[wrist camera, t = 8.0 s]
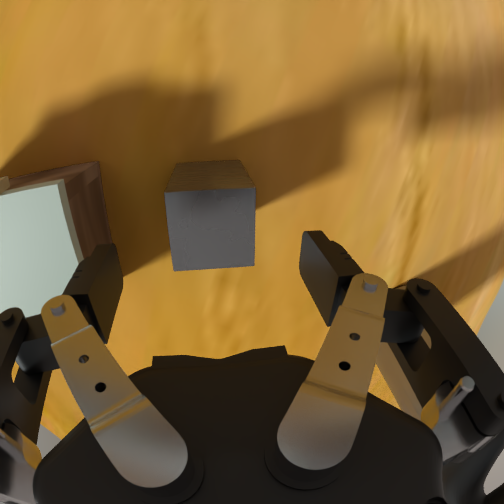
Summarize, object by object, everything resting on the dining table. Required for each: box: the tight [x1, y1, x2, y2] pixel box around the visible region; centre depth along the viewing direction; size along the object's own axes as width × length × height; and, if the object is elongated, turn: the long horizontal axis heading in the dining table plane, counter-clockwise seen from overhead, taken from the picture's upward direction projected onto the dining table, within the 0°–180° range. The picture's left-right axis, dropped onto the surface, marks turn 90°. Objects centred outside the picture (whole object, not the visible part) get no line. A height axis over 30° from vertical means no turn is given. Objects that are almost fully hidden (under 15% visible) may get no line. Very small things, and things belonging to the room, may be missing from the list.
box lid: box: [0, 176, 84, 317], centre depth 14 cm, size 13×11×2 cm
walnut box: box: [5, 161, 112, 259], centre depth 17 cm, size 12×10×6 cm
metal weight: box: [164, 160, 256, 271], centre depth 18 cm, size 4×4×7 cm
